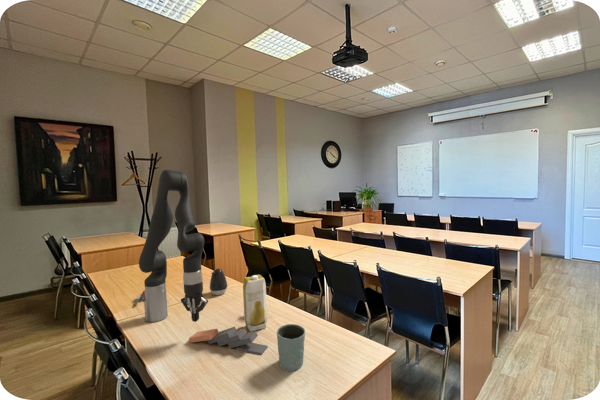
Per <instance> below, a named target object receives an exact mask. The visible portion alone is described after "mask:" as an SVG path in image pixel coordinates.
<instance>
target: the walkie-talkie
mask: <svg viewBox="0 0 600 400" xmlns="http://www.w3.org/2000/svg"><path fill="white" fill-rule="evenodd" d="M145 301H146V298H145V289H144V290H143V291H142V292H141V294H139V295H138V296H137V295H136V298H135V303H134V305H133V306H134V307H136V306H137V305H138V303H140V302H145Z"/></svg>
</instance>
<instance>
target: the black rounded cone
mask: <svg viewBox="0 0 600 400" xmlns="http://www.w3.org/2000/svg"><path fill="white" fill-rule="evenodd" d="M227 288H228V281H227V278H226V276H225V273H224V271H223V269H222V268H214V270H213V271H212V272H211V276H210V281H209V290H210V293H211V294H213V295H214V296H221V295H224V294H225V293H226V292H227Z"/></svg>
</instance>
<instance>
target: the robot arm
mask: <svg viewBox="0 0 600 400" xmlns="http://www.w3.org/2000/svg"><path fill="white" fill-rule="evenodd" d="M189 187H190V185H189V180H188V176H187V174H186V173H185V172H182V171H178V170H171V169H164V170H162V172H161V173H160V175H159V178H158V184H157V190H156V199H155V204H154V208H153V212H152V214H151V218H150V222H149V226H148V231H147V235H146V239H145V242H144V245H143V248H142V249H141V254H139V255H140V256H139V260H138V267H139V269H140V271H141V272H142V273H145V274H147V273H150V274H149V275H148V276H147V277H146V278H144V279H145V280H144V281H143V282H144V290H145V298H146V301H143V302H144V304H143V307H144V318H145V319H144V320H145V322H150V323H156V322H159V321H162V320H164V319H167V318H168V299H167V298H168V297H167V296H168V295H167V283H166V278H167V274H168V273H167V272H168V271H167V270H168V269H167V268H168V267H167V266H168V265H167V264H168V263H167V257H166V254H165V253H164V251H162V250H161V249H160V250H158V249H159V247H160V245H161V244H162V242H163V241H164V240H165V239H166V237H167V236H168V235H169V234H170V232H171V229H172V225H173V221H174V219H175V222H176V226H177V240H176V241H177V242H176V247H177V249H178V250H179V251H180V252H181V253H186V252H192V254H189V255H188V256H186V257H184V258H183V259H182V267H183V268H182V269H183V277H182V279H183V292H184V296H183V298H180V302H181V303H182V305H183V307H184V308H185V310H186V311H187V312H190V313H191V321H192V322H194V323H196V322H198V321H199V320H200V312H202V311H203V310H204V309H205V307H206V306H207V304H208V303H209V300H208V299H205V298H204V293H203V292H204V291H203V290H204V282H203V281H204V280H203V279H204V278H203V272H202V254H203V250H204V246H205V238H204V235H203V234H202V233H200V232H195V233H189V232H190V231H193V230H194V229H195V228H196V222H195V219H194V215H193V212H192V207H191V199H190V189H189ZM170 191H171V192H178V193H179V197H180V198H179V201H178V203H177V205H176V208H175V211H174V215H173V211H172V209H171V207H170V205H169V202H168V193H169V192H170ZM174 217H175V218H174ZM186 233H187V234H186Z"/></svg>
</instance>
